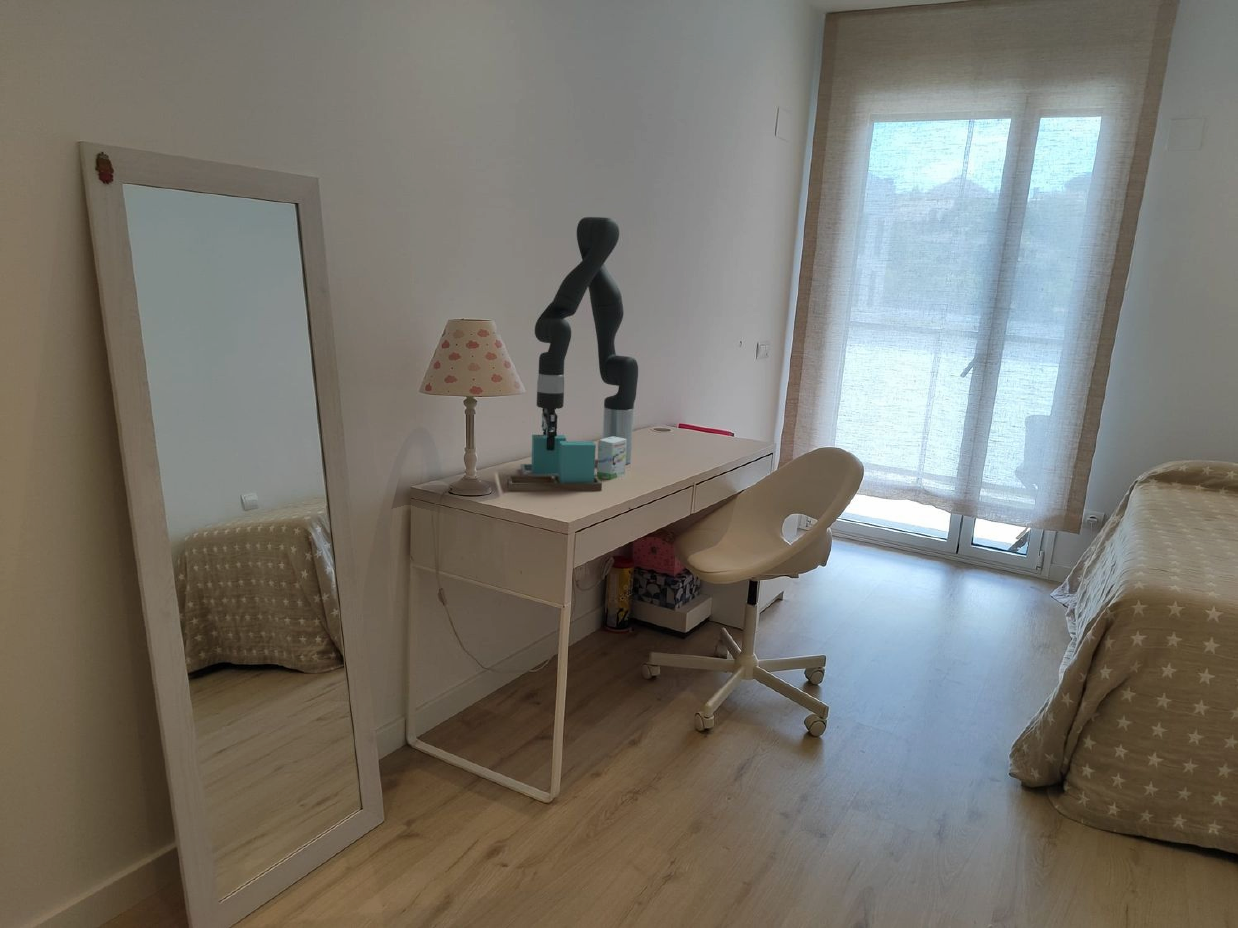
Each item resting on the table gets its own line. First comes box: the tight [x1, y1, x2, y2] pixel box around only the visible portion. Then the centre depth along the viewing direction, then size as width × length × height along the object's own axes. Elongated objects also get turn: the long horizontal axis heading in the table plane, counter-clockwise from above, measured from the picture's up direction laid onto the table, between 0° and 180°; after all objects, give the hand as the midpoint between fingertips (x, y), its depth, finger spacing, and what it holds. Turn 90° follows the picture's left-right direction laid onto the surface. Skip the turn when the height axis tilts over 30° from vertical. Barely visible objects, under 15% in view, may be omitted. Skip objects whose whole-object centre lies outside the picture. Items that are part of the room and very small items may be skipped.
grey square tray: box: [519, 463, 558, 476], centre depth 228 cm, size 13×15×2 cm
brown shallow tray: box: [506, 474, 603, 492], centre depth 215 cm, size 9×24×3 cm, turn 102°
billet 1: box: [530, 434, 567, 474], centre depth 227 cm, size 5×9×12 cm, turn 102°
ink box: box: [596, 436, 627, 481], centre depth 229 cm, size 8×5×12 cm, turn 150°
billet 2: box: [558, 440, 597, 483], centre depth 215 cm, size 5×9×12 cm, turn 102°
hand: (548, 447), depth 226 cm, fingers open, 8 cm apart
